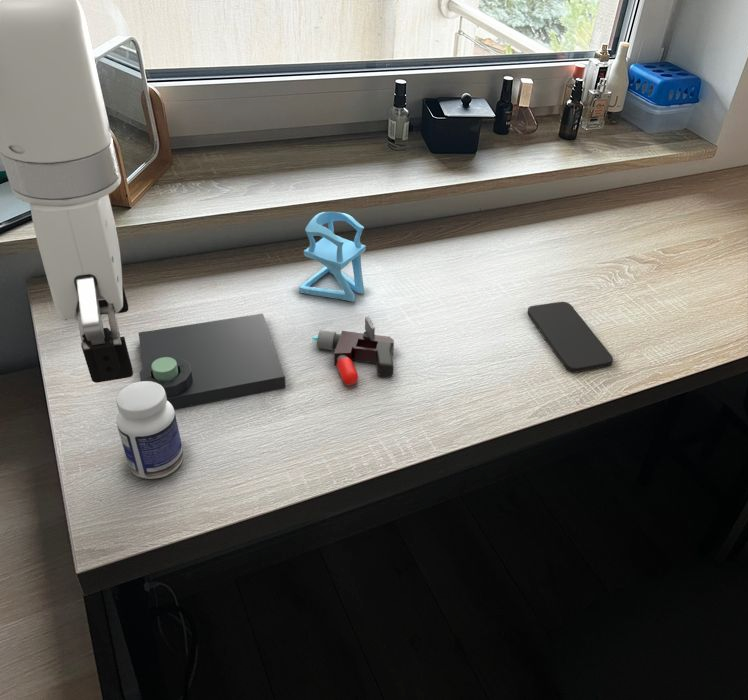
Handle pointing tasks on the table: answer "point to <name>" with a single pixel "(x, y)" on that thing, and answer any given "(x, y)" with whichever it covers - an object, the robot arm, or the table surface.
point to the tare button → (164, 369)
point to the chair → (334, 256)
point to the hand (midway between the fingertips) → (112, 343)
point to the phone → (569, 336)
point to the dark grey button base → (214, 360)
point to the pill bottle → (148, 430)
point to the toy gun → (358, 350)
